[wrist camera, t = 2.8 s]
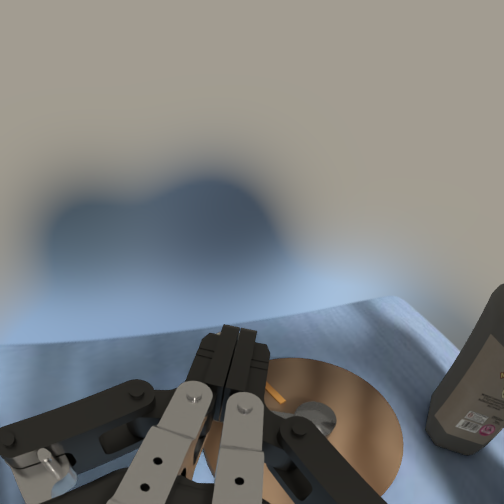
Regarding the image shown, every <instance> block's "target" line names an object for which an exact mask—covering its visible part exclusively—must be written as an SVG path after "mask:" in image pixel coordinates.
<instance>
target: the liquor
mask: <svg viewBox="0 0 504 504" xmlns="http://www.w3.org/2000/svg"><path fill="white" fill-rule="evenodd" d="M503 428H504V284H502V285H500V286H499V287H498V288H497V289H496V290H495V291H494V292H493V293H492V295H491V297H490V299H489V301H488V303H487V305H486V307H485V309H484V311H483V313H482V315H481V317H480V318H479V320H478V322H477V324H476V326H475V328H474V329H473V331H472V333H471V335H470V336H469V338H468V340H467V342H466V343H465V345H464V347H463V348H462V350H461V352H460V353H459V355H458V357H457V358H456V360H455V361H454V363H453V365H452V366H451V368H450V369H449V371H448V372H447V374H446V375H445V377H444V378H443V380H442V381H441V383H440V384H439V386H438V387H437V388H436V390H435V391H434V393H433V394H432V397H431V402H430V408H429V413H428V418H427V423H426V429H425V430H426V432H427V433H428V435H429V436H430V438H431V439H432V441H433V443H434V444H435V445H436V446H439V447H442V448H445V449H448V450H451V451H454V452H457V453H461V454H464V455H473V454H475V453H476V452H478V451H479V450H480V449H482V448H483V447H485V446H486V445H487V444H488V443H489V442H490V441H491V440H492V439H493V438H494V437H495V436H496V435H497V434H498V433H499V432H500V431H501V430H502V429H503Z"/></svg>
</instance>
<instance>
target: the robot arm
mask: <svg viewBox="0 0 504 504" xmlns="http://www.w3.org/2000/svg"><path fill="white" fill-rule="evenodd" d="M239 331H240V334H239ZM256 334H257V331H254V330H249V329H245V328H241V330H240V328H239V327H235V326H230V325H225V324H224V325H223V328H222V331H221V333H220V335H218V334H213V333H209V334H208V335H207V336H205V337H204V338H203V339H202V341H201V343H200V346H199V349H198V351H197V353H196V356H195V358H194V361H193V363H192V366H191V368H190V371H189V373H188V376H187V378H186V380H185V382H184V383H182V384H181V385H179V386H178V388H176V389H172V390H154V388H153V387H152V386H151V385H150V384H149V383H148V382H146V381H143V380H138V379H135V380H129V381H127V382H124V383H122V384H119V385H117V386H114V387H112V388H109V389H107V390H104V391H102V392H99V393H97V394H94V395H92V396H89V397H86V398H84V399H81V400H78V401H76V402H73V403H70V404H68V405H65V406H62V407H59V408H57V409H54V410H51V411H48V412H45V413H42V414H40V415H37V416H34V417H31V418H28V419H25V420H22V421H19V422H16V423H13V424H9V425H6V426H3V427H1V428H0V455H1V457H2V458H3V459H4V460H5V462H6V463H7V464H8V465H9V466H10V467H11V469H12V472H13V475H14V477H15V480H16V482H17V485H18V487H19V489H20V492H21V494H22V496H23V498H24V501H25V503H26V504H271V503H269V502H268V501H266V500H265V499H263V498H262V492H263V473H264V463H266V466H267V468H268V469H269V471H270V472H271V473H272V475H273V476H274V477H275V479H276V480H277V481H278V483H279V484H280V485H281V487H282V488H283V489H284V491H285V492H286V493H287V495H288V496H289V497H290V498H291V500H292V501H293V502H294V503H295V504H387V503H386V502H385V501H384V500H383V499H382V498H381V497H380V496H379V494H378V493H377V492H376V491H375V490H374V489H373V488H372V487H371V486H370V485H369V484H368V483H367V482H366V481H365V480H364V479H363V478H362V477H361V476H360V474H359V473H358V472H357V471H356V470H355V469H354V468H353V467H352V466H351V465H350V464H349V463H348V462H347V460H346V459H345V458H344V457H343V456H342V455H341V454H340V453H339V452H338V450H337V449H336V448H335V447H334V446H333V445H332V444H331V443H330V442H329V440H328V439H327V438H326V437H325V436H324V435H323V434H322V432H321V431H320V430H319V429H318V428H317V427H316V426H315V424H314V423H313V422H312V421H310V420H309V419H307V418H305V417H301V416H292V417H289V418H287V419H285V418H283V417H280V416H278V415H276V414H274V413H273V412H271V411H270V410H269V409H268V407H267V406H266V404H265V402H264V394H265V387H266V380H267V373H268V366H269V358H270V352H269V349H268V347H267V345H266V344H261V343H256V342H255V339H256ZM238 337H239V338H238ZM221 409H222V411H221ZM220 413H221V418H220V421H221V422H223V428H222V433H221V439H220V446H219V452H218V459H217V466H216V472H215V479H214V483H196V482H194V481H192V478H193V474H194V470H195V467H196V465H197V462H198V460H199V457H200V454H201V452H202V449H203V447H204V444H205V442H206V439H207V437H208V433H209V431H210V429H211V425H212V421H213V420H216V421H218V420H219V416H220ZM137 448H139V450H138V452H137V453H136V455H135V457H134V459H133V461H132V463H131V465H130V466H129V467H127V468H122V469H119V470H116V471H113V472H111V473H109V474H107V475H105V476H103V477H100V478H98V479H96V480H94V481H92V482H90V483H87V484H85V485H83V486H81V487H78V488H76V489H74V490H72V491H69V492H67V491H68V490H70V489H72V488H73V487H74V486H75V484H76V482H77V475H78V474H80V473H83V472H85V471H88V470H90V469H93V468H95V467H97V466H100V465H102V464H104V463H107V462H109V461H111V460H114V459H116V458H118V457H120V456H122V455H125V454H127V453H129V452H131V451H133V450H135V449H137ZM66 492H67V493H66Z"/></svg>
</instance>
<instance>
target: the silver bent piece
mask: <svg viewBox="0 0 504 504" xmlns="http://www.w3.org/2000/svg"><path fill="white" fill-rule="evenodd" d="M220 333H221V332H219V333H217V334H218V335H220ZM239 334H240V333H239ZM238 338H239V337H238ZM221 411H222V409H221ZM270 411H271V410H270ZM271 412H273V413H274V414H276V415H278V416H280V417H283V418H285V419H287V418H289V417H292V416H301V417H305V418H307V419H309V420H310V421H312V422H313V423H314V424H315V426H316V427H317V428H318V429H319V430H320V431H321V432H322V434H323V435H324V436H325V437H326V438H328V437H329V436H330V434H331V433H332V431H333V429H334V428H335V426H336V422H337V419H336V415H335V413H334V411H333V410H332V409H331V408H330V407H329V406H327V405H325V404H323V403H320V402H315V401H310V402H305V403H303V404H301V405H300V406H299V407H298V408H297V409H296V411H295V413H294V414H291V413H284V412H277V411H271ZM220 418H221V413H220V416H219V420H218V421H216V420H214V421H216V422H221V421H220ZM221 423H223V422H221Z"/></svg>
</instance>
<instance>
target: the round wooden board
mask: <svg viewBox="0 0 504 504" xmlns="http://www.w3.org/2000/svg"><path fill="white" fill-rule="evenodd" d="M310 401H315V402H320V403H323V404H325V405H327V406H329V407H330V408H331V409H332V410H333V411H334V413H335V415H336V419H337V422H336V426H335V428H334V429H333V431H332V433H331V434H330V436H329V437H328V438H327V439H328V440H329V442H330V443H331V444H332V445H333V446H334V447H335V448H336V449H337V450H338V452H339V453H340V454H341V455H342V456H343V457H344V458H345V459H346V460H347V462H348V463H349V464H350V465H351V466H352V467H353V468H354V469H355V470H356V471H357V472H358V473H359V474H360V476H361V477H362V478H363V479H364V480H365V481H366V482H367V483H368V484H369V485H370V486H371V487H372V488H373V489H374V490H375V491H376V492H377V493H378V494H379V496H380V497H381V496H382V495H383V494H384V493H385V492H386V490H387V489H388V488H389V487H390V485H391V484H392V482H393V481H394V479H395V477H396V475H397V473H398V470H399V468H400V465H401V461H402V456H403V436H402V431H401V427H400V424H399V421H398V419H397V417H396V414H395V413H394V411H393V409H392V408H391V406H390V405H389V403H388V402H387V401H386V399H385V398H384V397H383V396H382V395H381V394H380V393H379V392H378V391H377V390H376V389H375V388H374V387H373V386H372V385H370V384H369V383H368V382H366V381H365V380H363V379H362V378H361V377H359V376H357V375H355V374H354V373H352V372H350V371H348V370H345V369H343V368H341V367H338V366H335V365H333V364H329V363H326V362H322V361H317V360H312V359H303V358H280V359H273V360H269V366H268V373H267V380H266V387H265V394H264V402H265V404H266V406H267V407H268V409H269V410H271V411H277V412H284V413H291V414H294V413H295V411H296V409H297V408H298V407H299V406H300V405H301V404H303V403H305V402H310ZM222 428H223V423H221V422H216V421H214V420H213V421H212V425H211V429H210V431H209V433H208V437H207V439H206V442H205V444H204V447H203V449H204V454H205V458H206V461H207V464H208V467H209V469H210V471H211V473H212V475H213V477H214V478H215V472H216V466H217V459H218V452H219V446H220V439H221V433H222ZM262 498H263V499H265V500H266V501H268V502H269V503H271V504H295V503H294V502H293V501H292V500H291V498H290V497H289V496H288V495H287V493H286V492H285V491H284V489H283V488H282V487H281V485H280V484H279V483H278V481H277V480H276V479H275V477H274V476H273V475H272V473H271V472H270V471H269V469H268V468H267V466H266V463H264V473H263V492H262Z"/></svg>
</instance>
